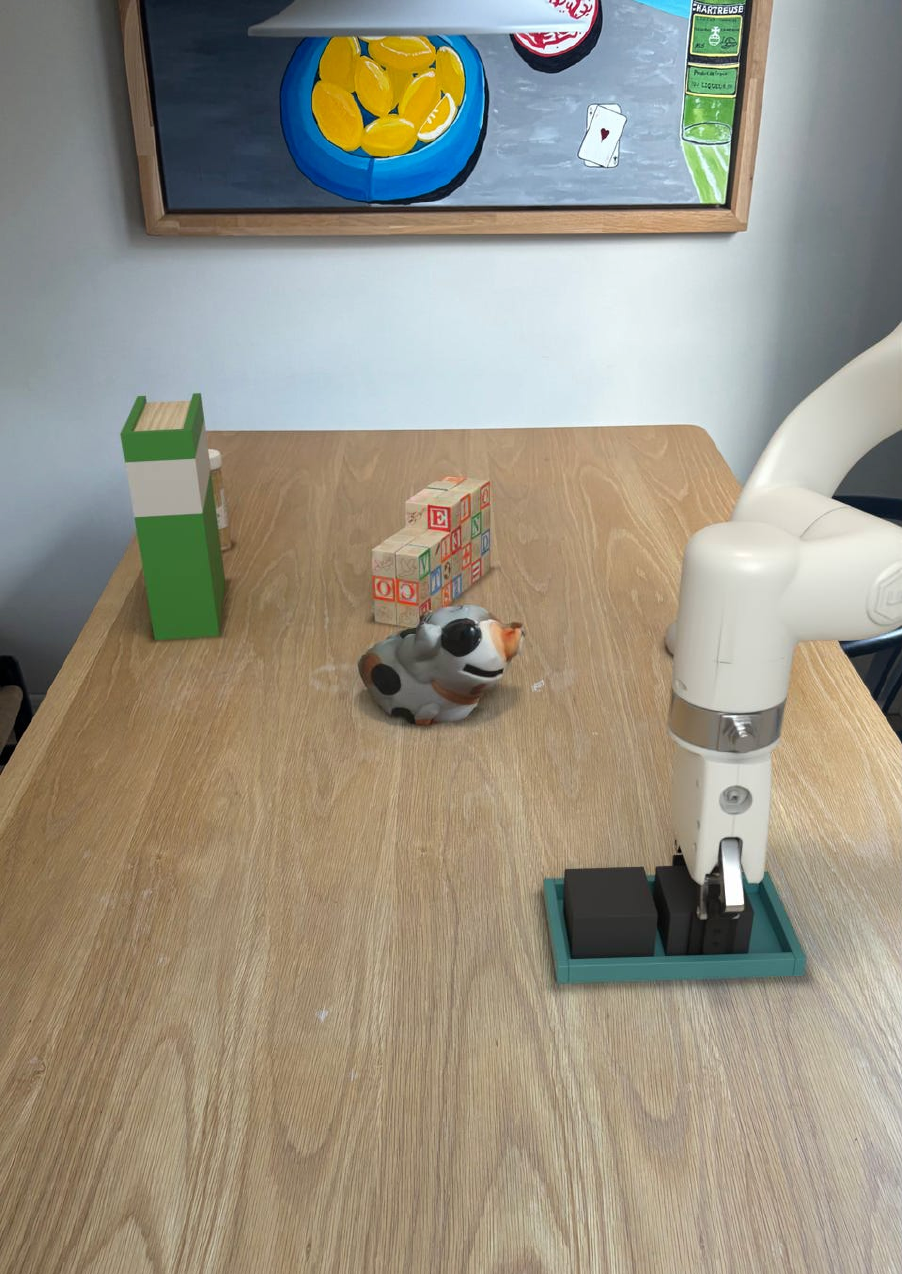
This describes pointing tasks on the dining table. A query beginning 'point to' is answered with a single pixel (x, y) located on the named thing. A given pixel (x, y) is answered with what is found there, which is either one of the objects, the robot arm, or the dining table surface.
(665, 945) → the black square block
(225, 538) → the sprinkles bottle
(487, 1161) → the dining table surface
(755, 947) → the tray
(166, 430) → the hardback book
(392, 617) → the stack of blocks
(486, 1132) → the dining table surface
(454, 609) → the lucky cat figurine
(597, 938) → the seated pad
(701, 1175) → the dining table surface
